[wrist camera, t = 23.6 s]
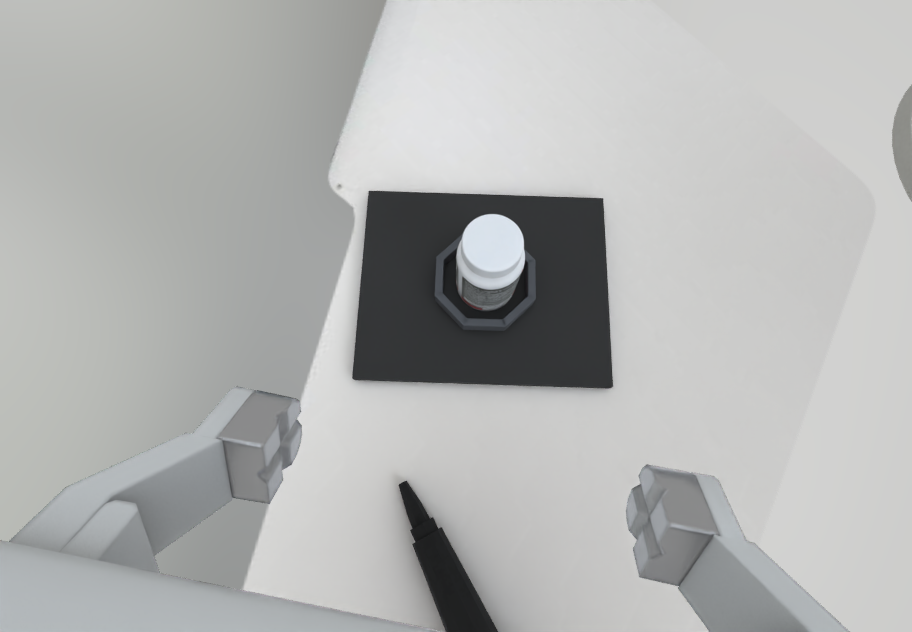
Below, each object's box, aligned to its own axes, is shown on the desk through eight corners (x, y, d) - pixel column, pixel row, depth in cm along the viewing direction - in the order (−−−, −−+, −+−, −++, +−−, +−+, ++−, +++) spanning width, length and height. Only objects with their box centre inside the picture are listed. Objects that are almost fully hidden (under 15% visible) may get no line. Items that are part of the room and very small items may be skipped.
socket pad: (599, 203, 41) (609, 189, 38) (608, 388, 37) (619, 385, 34) (370, 196, 41) (365, 181, 38) (354, 380, 37) (347, 375, 34)
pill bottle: (525, 295, 37) (545, 257, 29) (473, 322, 37) (479, 290, 29) (496, 247, 38) (508, 196, 30) (446, 272, 38) (443, 227, 30)
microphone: (390, 494, 37) (519, 782, 31) (352, 507, 32) (498, 859, 25) (446, 460, 36) (591, 749, 30) (417, 468, 31) (586, 823, 24)
